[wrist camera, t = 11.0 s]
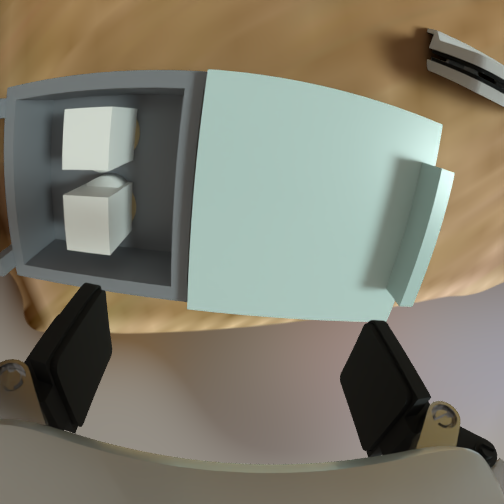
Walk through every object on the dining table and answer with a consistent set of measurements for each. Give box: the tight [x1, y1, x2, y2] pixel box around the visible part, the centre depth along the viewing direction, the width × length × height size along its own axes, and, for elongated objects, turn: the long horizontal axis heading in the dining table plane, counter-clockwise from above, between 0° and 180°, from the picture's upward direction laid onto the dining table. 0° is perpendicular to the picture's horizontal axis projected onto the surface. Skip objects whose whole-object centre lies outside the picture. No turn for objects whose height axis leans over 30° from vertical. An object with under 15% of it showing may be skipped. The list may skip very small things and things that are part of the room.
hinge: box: [427, 29, 504, 107], centre depth 18 cm, size 17×5×10 cm, turn 88°
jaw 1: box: [62, 107, 138, 173], centre depth 20 cm, size 5×4×6 cm
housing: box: [0, 70, 208, 302], centre depth 22 cm, size 16×34×9 cm, turn 82°
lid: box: [187, 69, 455, 322], centre depth 18 cm, size 16×16×3 cm
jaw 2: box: [63, 173, 133, 255], centre depth 22 cm, size 5×4×6 cm
